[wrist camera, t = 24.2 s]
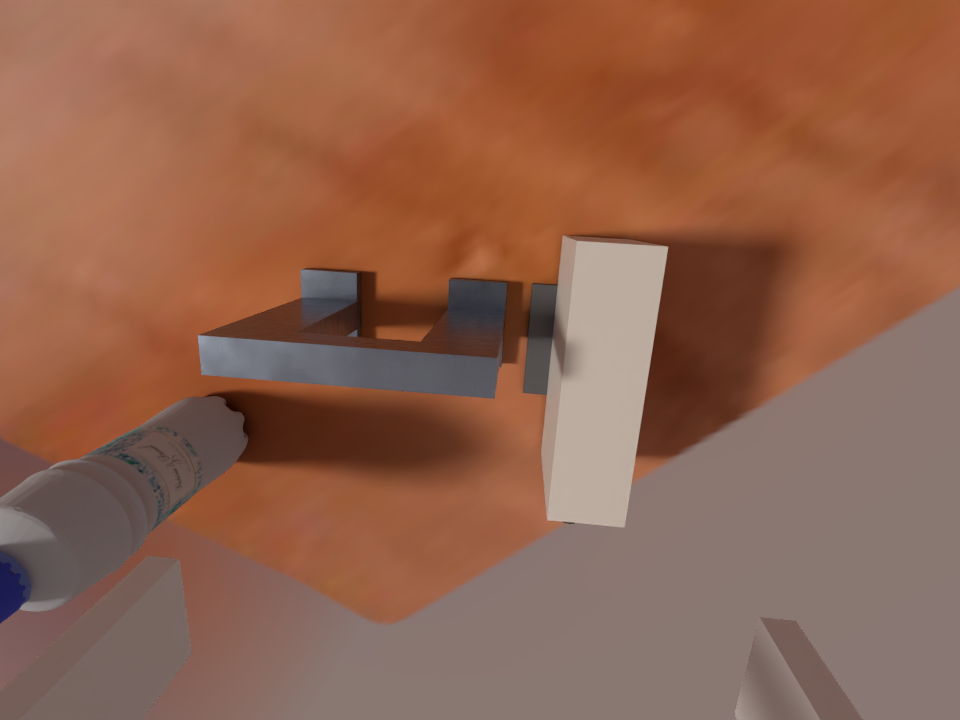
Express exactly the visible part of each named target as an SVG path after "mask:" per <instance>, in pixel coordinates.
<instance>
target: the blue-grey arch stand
mask: <svg viewBox="0 0 960 720" xmlns="http://www.w3.org/2000/svg"><path fill="white" fill-rule="evenodd" d="M507 284H508V282H505V281H490V280H476V279H461V278H450V279H449V297H448V309H447V310H446V311H445V313H444V314H443V315H442V316H441V317H440V319H439V320H438V321H437V322H436V324H435V325H434V326H433V327H432V328H431V330H430V331H429V332H428V333H427V335H426V336H425V337H424V338H423V339H422V341H421V342H417V341H404V340H391V339H378V338H364V337H361V272H357V271H342V270H327V269H312V268H305V269H301V292H302V298H300V299H297V300H294V301H292V302H289V303H286V304H283V305H280V306H278V307H275V308H272V309H269V310H267V311H264V312H261V313H258V314H255V315H253V316H250V317H247V318H244V319H242V320H239V321H236V322H233V323H231V324H228V325H225V326H222V327H219V328H217V329H214V330H211V331H208V332H206V333H203V334H200V335H198V342H199V352H200V362H201V372H202V375H211V376H224V377H236V378H248V379H261V380H273V381H285V382H297V383H310V384H322V385H334V386H347V387H359V388H371V389H384V390H396V391H408V392H420V393H433V394H445V395H457V396H470V397H482V398H494V399H495V392H496V385H497V378H498V372H499V367H501V365H502V353H503V339H504V325H505V312H506V298H507Z"/></svg>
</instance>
